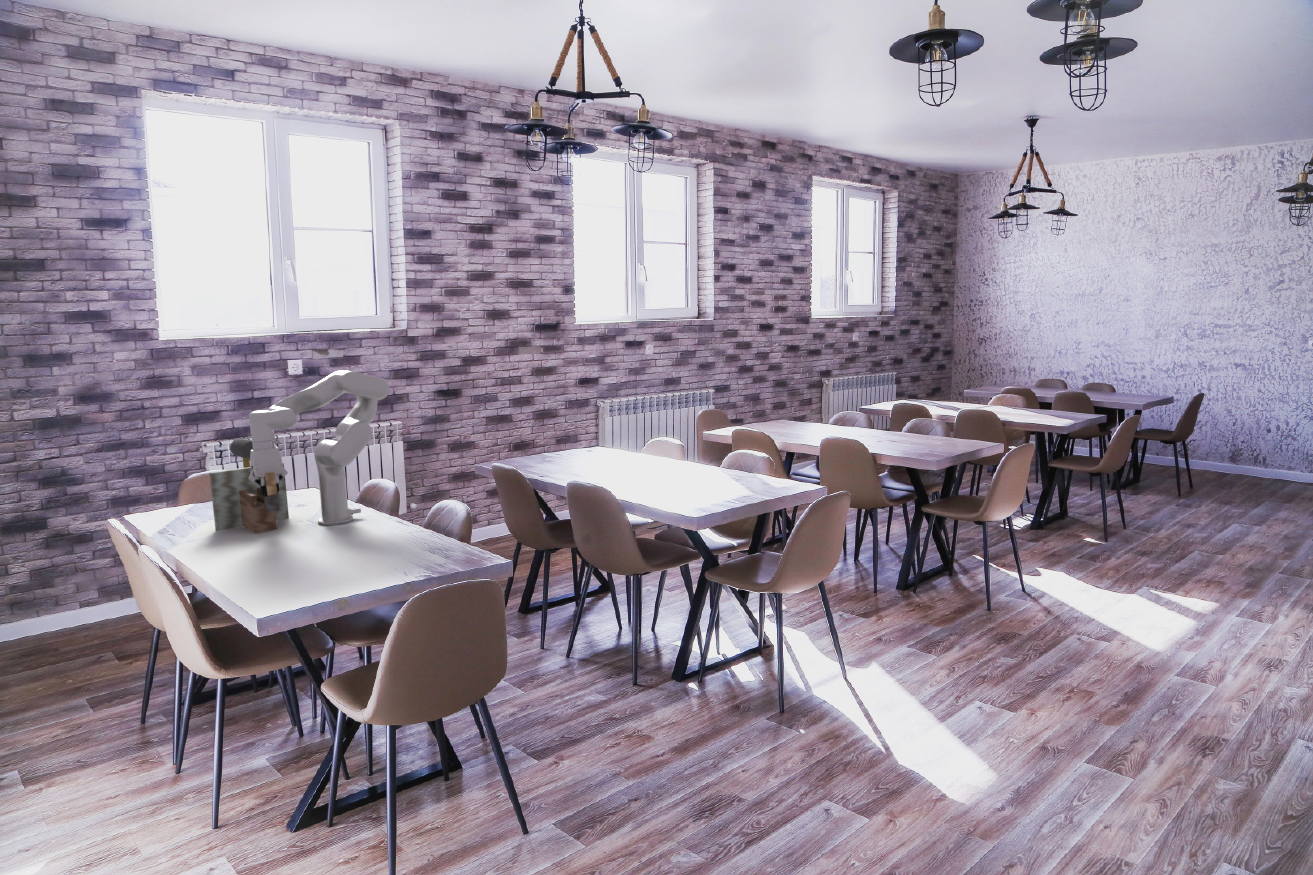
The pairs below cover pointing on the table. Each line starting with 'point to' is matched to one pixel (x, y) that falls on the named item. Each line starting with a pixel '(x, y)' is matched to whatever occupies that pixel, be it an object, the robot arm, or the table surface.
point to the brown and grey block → (271, 492)
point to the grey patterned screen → (244, 502)
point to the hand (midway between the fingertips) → (270, 494)
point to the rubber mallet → (242, 450)
